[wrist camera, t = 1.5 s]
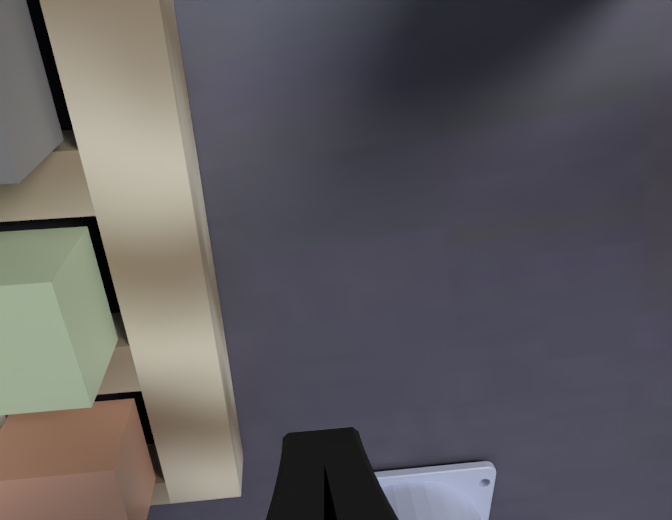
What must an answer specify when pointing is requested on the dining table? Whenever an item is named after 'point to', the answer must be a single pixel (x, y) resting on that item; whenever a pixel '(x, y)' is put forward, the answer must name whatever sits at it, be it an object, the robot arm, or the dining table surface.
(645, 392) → the dining table surface
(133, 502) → the key terracotta
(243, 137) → the dining table surface
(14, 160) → the key charcoal
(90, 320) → the key sage
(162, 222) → the key console
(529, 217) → the dining table surface
